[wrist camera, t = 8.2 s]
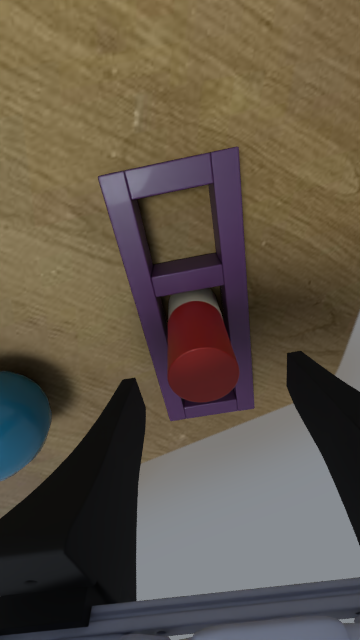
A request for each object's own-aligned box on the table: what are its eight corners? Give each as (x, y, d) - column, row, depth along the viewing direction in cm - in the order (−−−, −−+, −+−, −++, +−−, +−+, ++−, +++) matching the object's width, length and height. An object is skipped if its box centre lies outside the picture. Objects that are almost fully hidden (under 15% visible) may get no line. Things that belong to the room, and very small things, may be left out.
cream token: (225, 298, 20) (234, 318, 18) (197, 332, 22) (201, 355, 19) (186, 272, 19) (189, 289, 16) (159, 310, 20) (157, 331, 18)
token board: (228, 148, 15) (238, 146, 13) (247, 387, 25) (254, 408, 23) (106, 174, 16) (97, 176, 14) (170, 399, 25) (170, 421, 23)
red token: (233, 318, 18) (254, 369, 13) (200, 355, 19) (210, 412, 15) (188, 289, 16) (196, 335, 12) (157, 331, 18) (153, 385, 14)
